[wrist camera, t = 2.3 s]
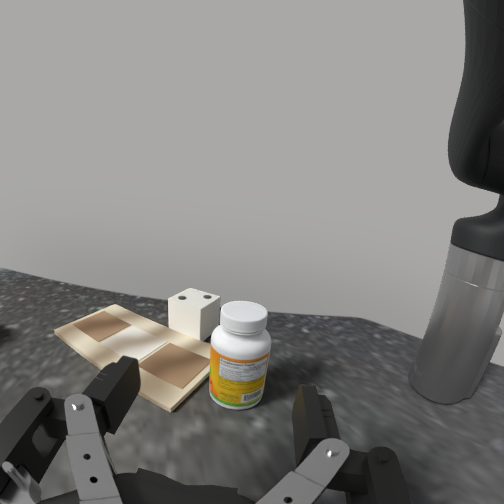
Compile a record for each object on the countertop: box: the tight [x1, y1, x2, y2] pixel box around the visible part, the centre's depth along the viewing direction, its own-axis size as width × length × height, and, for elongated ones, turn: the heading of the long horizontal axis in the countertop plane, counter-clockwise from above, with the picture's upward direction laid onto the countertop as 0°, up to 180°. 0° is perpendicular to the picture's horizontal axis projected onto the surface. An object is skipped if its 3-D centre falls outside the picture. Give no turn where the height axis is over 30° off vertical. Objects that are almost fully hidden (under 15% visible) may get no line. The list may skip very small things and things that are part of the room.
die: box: [168, 288, 221, 341], centre depth 36 cm, size 5×5×5 cm
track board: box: [54, 304, 211, 412], centre depth 30 cm, size 20×12×1 cm, turn 67°
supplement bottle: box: [209, 301, 271, 410], centre depth 24 cm, size 5×5×10 cm
